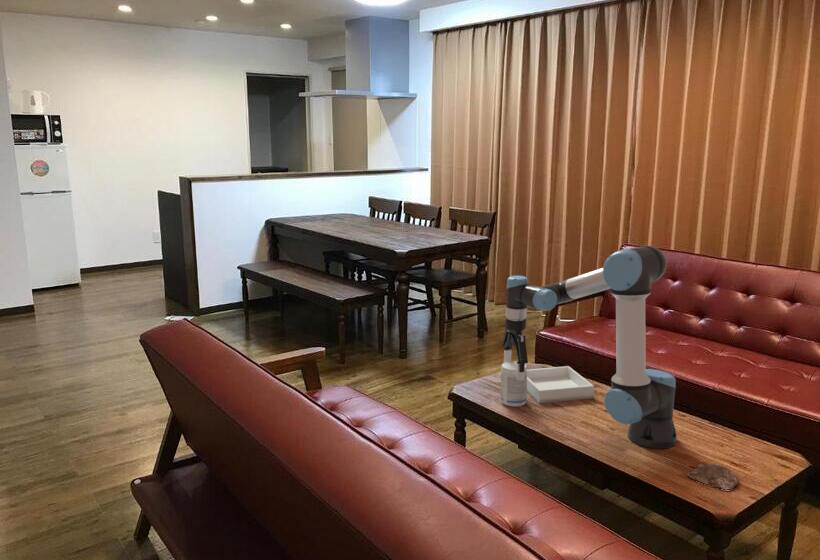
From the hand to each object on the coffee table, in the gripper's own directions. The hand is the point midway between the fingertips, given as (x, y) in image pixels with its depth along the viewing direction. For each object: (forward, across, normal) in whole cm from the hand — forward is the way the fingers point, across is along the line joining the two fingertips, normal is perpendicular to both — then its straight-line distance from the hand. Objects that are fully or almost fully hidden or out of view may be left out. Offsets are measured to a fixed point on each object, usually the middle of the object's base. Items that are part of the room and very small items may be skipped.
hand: (513, 372), depth 244 cm
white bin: (+12, +8, -20) cm, 24 cm away
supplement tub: (+12, 0, 0) cm, 12 cm away
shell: (+11, -66, -38) cm, 77 cm away
